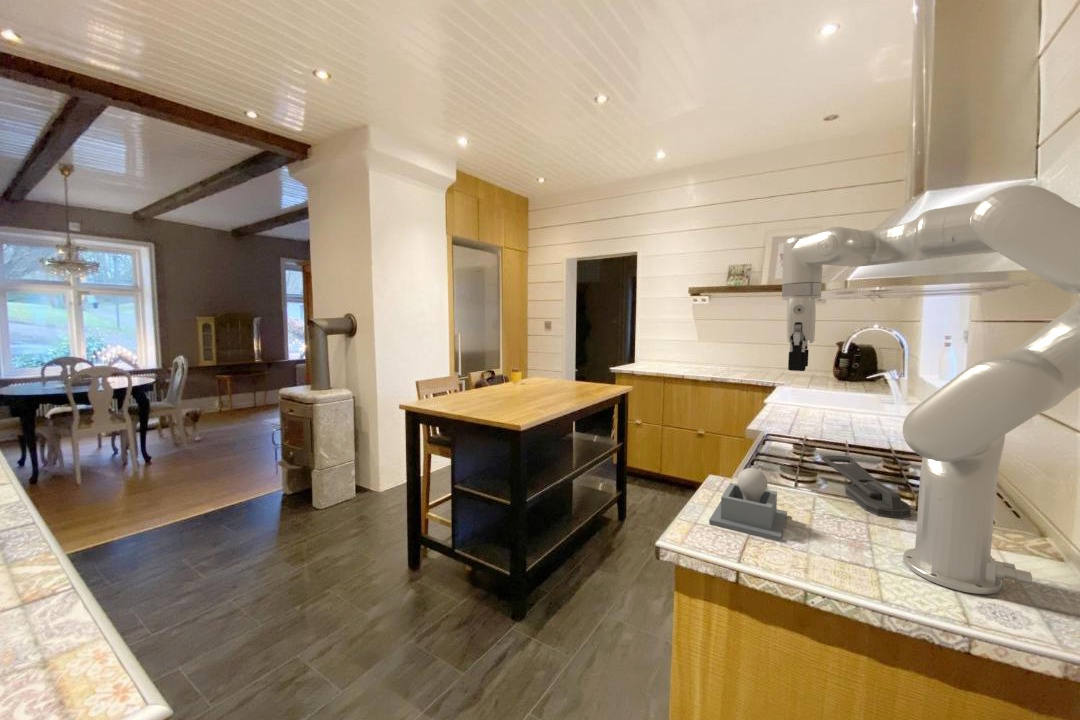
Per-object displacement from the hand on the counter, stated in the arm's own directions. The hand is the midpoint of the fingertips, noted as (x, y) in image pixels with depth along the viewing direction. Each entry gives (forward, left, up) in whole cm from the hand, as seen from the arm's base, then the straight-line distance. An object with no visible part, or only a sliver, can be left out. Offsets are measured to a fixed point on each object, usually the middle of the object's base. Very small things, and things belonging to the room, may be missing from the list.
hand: (798, 368), depth 97 cm
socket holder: (+8, +9, -34) cm, 36 cm away
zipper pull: (-14, -21, -35) cm, 43 cm away
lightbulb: (+8, +9, -34) cm, 36 cm away
